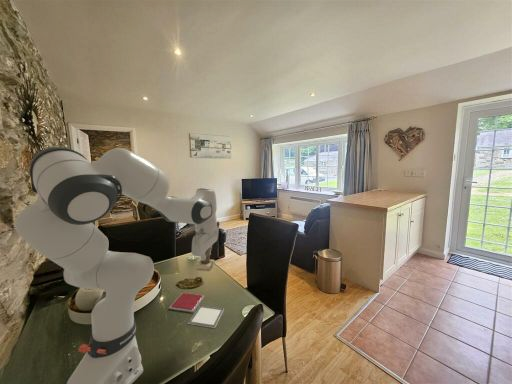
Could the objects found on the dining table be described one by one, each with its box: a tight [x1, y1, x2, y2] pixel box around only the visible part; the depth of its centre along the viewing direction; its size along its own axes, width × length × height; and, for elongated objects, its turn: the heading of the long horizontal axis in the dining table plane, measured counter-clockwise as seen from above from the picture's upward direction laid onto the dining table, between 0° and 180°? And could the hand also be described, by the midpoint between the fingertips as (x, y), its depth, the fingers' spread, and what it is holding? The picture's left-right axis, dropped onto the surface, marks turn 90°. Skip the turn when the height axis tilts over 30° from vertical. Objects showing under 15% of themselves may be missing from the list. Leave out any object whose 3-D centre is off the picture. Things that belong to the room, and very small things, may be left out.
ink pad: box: [168, 292, 205, 313], centre depth 104 cm, size 12×12×1 cm
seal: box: [175, 276, 205, 290], centre depth 120 cm, size 9×5×15 cm
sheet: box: [187, 304, 225, 329], centre depth 95 cm, size 12×12×1 cm
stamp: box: [195, 247, 216, 272], centre depth 92 cm, size 6×6×9 cm
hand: (206, 257), depth 92 cm, fingers closed on stamp, 4 cm apart
